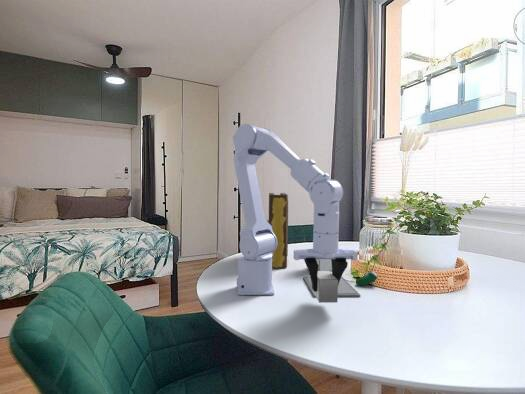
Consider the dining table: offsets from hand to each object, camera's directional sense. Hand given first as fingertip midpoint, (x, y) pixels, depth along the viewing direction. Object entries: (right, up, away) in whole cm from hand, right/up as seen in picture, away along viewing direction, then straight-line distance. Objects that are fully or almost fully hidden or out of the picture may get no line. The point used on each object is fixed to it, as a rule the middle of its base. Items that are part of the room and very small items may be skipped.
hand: (324, 289), depth 70 cm
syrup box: (+7, -3, +33) cm, 33 cm away
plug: (0, -1, +1) cm, 2 cm away
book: (-9, -2, +43) cm, 44 cm away
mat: (+4, -4, +14) cm, 15 cm away
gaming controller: (+16, -4, +19) cm, 25 cm away
